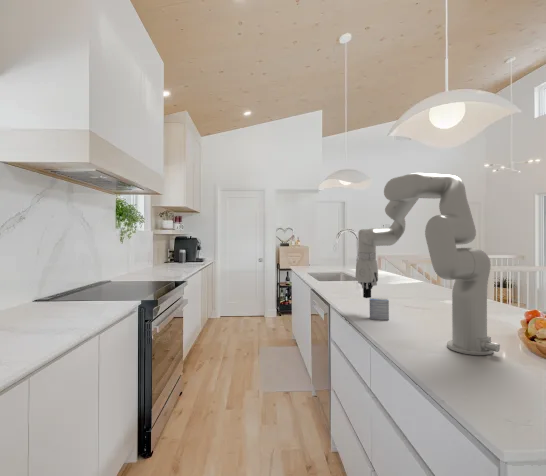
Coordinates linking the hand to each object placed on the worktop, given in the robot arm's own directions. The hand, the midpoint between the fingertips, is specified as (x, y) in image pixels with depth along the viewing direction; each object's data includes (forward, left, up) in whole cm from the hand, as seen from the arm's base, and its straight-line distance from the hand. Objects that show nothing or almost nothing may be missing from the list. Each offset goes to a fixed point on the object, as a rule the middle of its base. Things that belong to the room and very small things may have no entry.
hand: (367, 297), depth 158 cm
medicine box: (-7, 0, -8) cm, 11 cm away
